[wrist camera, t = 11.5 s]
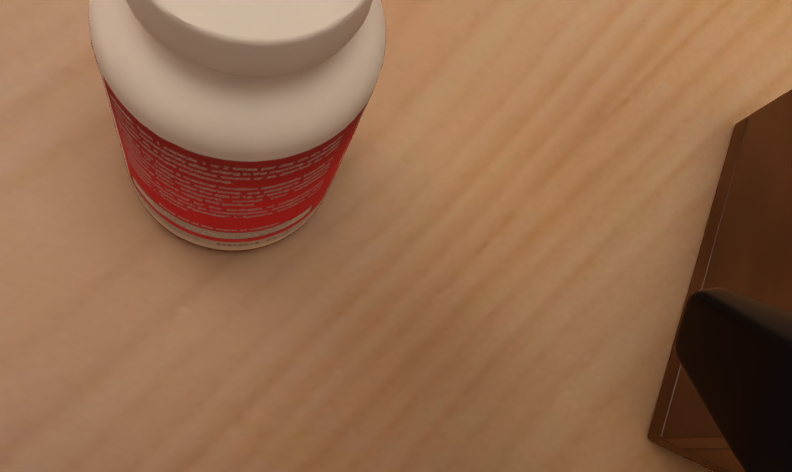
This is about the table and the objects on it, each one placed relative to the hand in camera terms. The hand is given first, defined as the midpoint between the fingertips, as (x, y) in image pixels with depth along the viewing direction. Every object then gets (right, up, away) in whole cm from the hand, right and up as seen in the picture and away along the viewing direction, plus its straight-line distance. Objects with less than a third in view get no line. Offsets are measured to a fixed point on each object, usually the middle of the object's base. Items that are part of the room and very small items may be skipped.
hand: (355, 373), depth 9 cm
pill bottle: (-5, +4, +15) cm, 16 cm away
